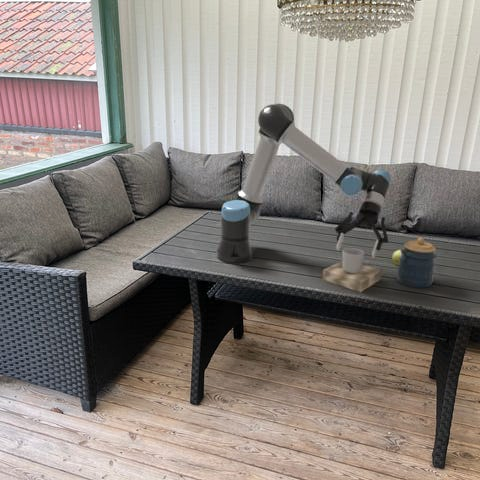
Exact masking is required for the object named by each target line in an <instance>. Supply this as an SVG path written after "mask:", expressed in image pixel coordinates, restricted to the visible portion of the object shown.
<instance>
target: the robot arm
mask: <svg viewBox="0 0 480 480" xmlns="http://www.w3.org/2000/svg"><path fill="white" fill-rule="evenodd" d="M257 123H258V126H259V130H258V134H259V136H260V138H259V140H258V144H257V148H256V150H255V152H254V156H253V158H252V162H251V165H250V167H249V170H248V174H247V176H246V179H245V182H244V184H243V187H242V189H240V190H238V192H237V194H236V197H235V199H234V200H233V199H232V200H227V201H226V202H224V203H223V204H222V207H221V211H220V212H221V213H220V214H221V219H220V220H221V221H220V222H221V226H220V227H221V228H220V229H221V230H220V231H221V233H220V234H221V236H220V242H219V245H218V247H217V251H216V258H217V259H218V260H220V261H222V262H226V263H232V264H233V263H235V264H237V263H239V264H240V263H245V262H249V261H250V260H252V259H253V251H252V248H251V243H250V237H249V236H250V226H251V225H252V224H253V223H255V222H256V221H257V220H258V219H259V218H260V215H261V212H262V205H263V201H264V199H263V197H262V195H263V193H264V189H265V185H266V183H267V181H268V178H269V176H270V173H271V170H272V168H273V167H272V166H273V164H274V163H275V159H276V156H277V153H278V150H279V148H280V145H282V144H284V145H285V146H286V147H287V148H289V149H290V150H292V151H293V152H294V153H295V154H296V155H298V156H299V157H300V158H302V159H303V160H304V161H306V162H307V163H309V165H311V166H312V167H314V169H316V170H317V171H319V172H320V173H322V174H323V175H324V176H325V177H326V178H328V179H330V180H331V182H333V183H334V184H335V185H337V186H338V187H340V190H341V191H342V192H343V193H344V194H345V195H346V196H354V195H357V194H358V193H359V192H361V191H363V192H365V195H364V197H363V200H362V203H361V206H360V208H359V210H358V213H354V211H351V212H349V214H348V215H347V217H345V219H344V220H342V221H341V222H340V223H339V224H338V225H337V226H336V227H335V228H334V229H335V230H334V231H335V232H336V234H337V236H336V241H337V243H336V245H335V249H336V251H338V252H339V251H340V249H341V247H342V245H343V241H344V239H345V234H347V233H349V232H350V231H352V230H353V229H356V228H359V227H361V228H366V229H370V228H371V230H372V231H373V233H374V236H376V238H377V239H375V243H374V245H373V248H372V252H371V258H372V259H375V258H376V254H377V251H380V250H381V247H382V245H383V244H384V243H385V244H387V243H389V238H388V234H387V229H386V219H385V217H381V218H379V216H380V214H381V213H380V212H381V211H382V210H381V209H382V207H383V204H384V201H385V198H386V197H387V193H388V191H389V188H390V185H391V181H392V176H391V174H390V173H389V172H388V171H387V170H384V169H381V170H380V169H376V170H375V171H373V173H371V172H368V171H365V170H362V169H360V168H356V167H354V166H350V165H346V164H344V162H341V160H339V159H338V158H336V157H335V156H334V155H332V154H331V152H329V151H327V150H326V149H325V148H323V147H322V146H321V145H319V144H318V143H317V142H316V141H315V140H313V139H312V138H311V137H309V136H308V135H306V134H305V133H304V132H303V131H301V130H300V129H299V128H297V127H296V123H295V115H294V112H293V110H292V109H291V108H290V107H289V106H287V105H286V104H284V103H274V104H268V105H265V106H264V107H263V108H262V109H261V110H260V111H259V114H258V121H257ZM352 220H353V221H352ZM377 223H379V225H381V230H382V234H383V235H382V236H381V234H380V232H379V230H378V228H377V226H376V225H377Z"/></svg>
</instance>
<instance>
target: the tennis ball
mask: <svg viewBox="0 0 480 480" xmlns="http://www.w3.org/2000/svg"><path fill="white" fill-rule="evenodd" d="M401 254H402V253H401V249H399V250H395V251H394V252H393V253H392V256H391V259H392V262H393V263H394V264H395V265H396V266H399V261H400V260H399V258H400V257H401Z"/></svg>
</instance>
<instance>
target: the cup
mask: <svg viewBox="0 0 480 480" xmlns="http://www.w3.org/2000/svg"><path fill="white" fill-rule="evenodd" d="M364 257H365V251H364V250H363V249H360V248H357V247H356V248H355V247H345V248H343V249H342V258H341V259H342V260H341V261H342V267H343V270H344V271H345V272H348V273H358V272H359V271H360V269H361V266H362V265H363V261H364Z"/></svg>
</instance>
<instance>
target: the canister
mask: <svg viewBox="0 0 480 480" xmlns="http://www.w3.org/2000/svg"><path fill="white" fill-rule="evenodd" d="M400 250H401V253H402V254H401V257H400V258H399V260H400V261H399V265H398V268H397V272H396V280H397V282H399V283H400V284H402V285H404V286H408V287H410V288H417V289H418V288H419V289H423V288H424V289H425V288H428V287H430V286H431V285H432V283H433V280H434V275H435V274H434V273H435V267H436V259H437V257H438V254H437V252H436V250H437V249H436V247H435V246H433V244H432V243H430V242H427V241H425V239H424V238H423V237H418V238H417V239H416V240H415V239H414V240H413V239H412V240H409V241H407V242H405V243H403V247H402V248H401V249H400Z"/></svg>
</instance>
